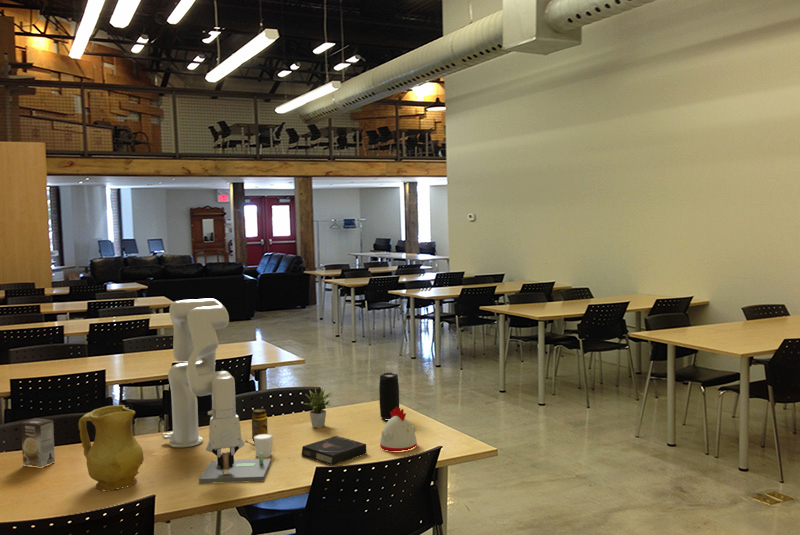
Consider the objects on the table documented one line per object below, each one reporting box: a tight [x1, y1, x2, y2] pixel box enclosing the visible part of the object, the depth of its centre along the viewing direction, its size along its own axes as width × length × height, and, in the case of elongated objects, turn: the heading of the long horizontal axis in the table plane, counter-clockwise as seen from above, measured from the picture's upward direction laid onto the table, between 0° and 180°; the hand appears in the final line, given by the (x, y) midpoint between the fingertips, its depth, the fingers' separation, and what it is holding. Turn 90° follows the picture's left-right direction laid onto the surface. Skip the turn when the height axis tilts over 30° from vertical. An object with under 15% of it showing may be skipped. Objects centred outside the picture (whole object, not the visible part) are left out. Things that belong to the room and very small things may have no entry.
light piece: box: [216, 451, 233, 474], centre depth 229 cm, size 13×6×6 cm, turn 17°
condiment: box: [251, 408, 269, 441], centre depth 266 cm, size 7×8×12 cm
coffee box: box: [20, 417, 56, 467], centre depth 242 cm, size 9×6×16 cm
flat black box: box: [301, 435, 367, 466], centre depth 247 cm, size 16×17×4 cm
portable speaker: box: [378, 372, 400, 420], centre depth 293 cm, size 9×9×20 cm
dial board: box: [198, 452, 272, 484], centre depth 230 cm, size 21×18×6 cm
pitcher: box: [78, 404, 144, 491], centre depth 222 cm, size 17×19×25 cm
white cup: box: [254, 433, 274, 458], centre depth 248 cm, size 7×7×7 cm
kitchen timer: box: [379, 407, 418, 451], centre depth 255 cm, size 14×14×15 cm
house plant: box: [302, 388, 336, 429], centre depth 283 cm, size 14×14×16 cm
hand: (225, 466), depth 226 cm, fingers closed on light piece, 2 cm apart
